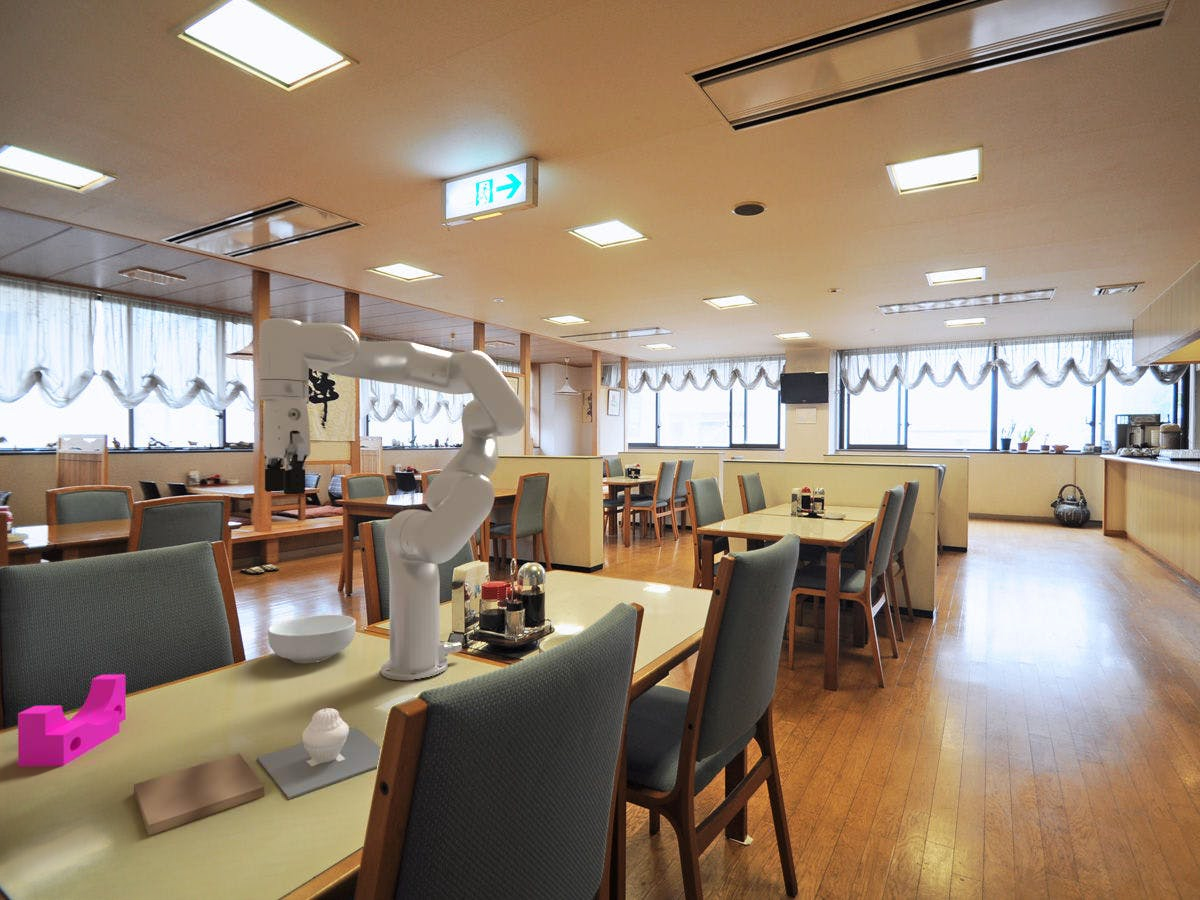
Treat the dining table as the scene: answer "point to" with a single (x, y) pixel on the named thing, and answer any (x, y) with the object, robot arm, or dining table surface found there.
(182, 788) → the walnut pad
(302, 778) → the tile
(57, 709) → the magenta cradle bracket
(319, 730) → the muffin
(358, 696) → the dining table surface
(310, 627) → the cereal bowl
